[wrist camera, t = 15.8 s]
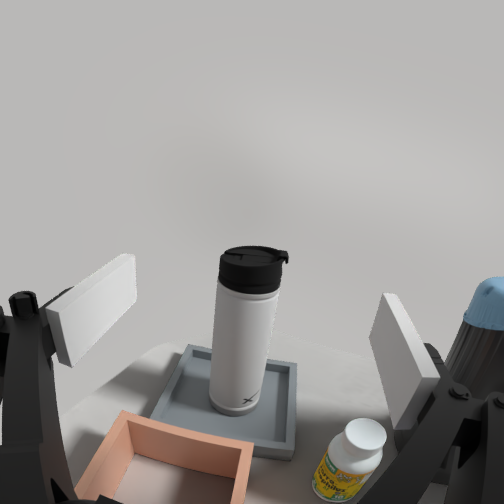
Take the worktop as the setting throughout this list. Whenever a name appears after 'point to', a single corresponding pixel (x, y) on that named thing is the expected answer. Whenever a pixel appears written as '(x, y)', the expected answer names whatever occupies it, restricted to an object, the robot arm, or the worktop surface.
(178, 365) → the grey tray
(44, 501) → the robot arm
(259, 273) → the travel mug
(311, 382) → the worktop surface
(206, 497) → the worktop surface
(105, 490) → the square planter box
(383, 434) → the supplement bottle
